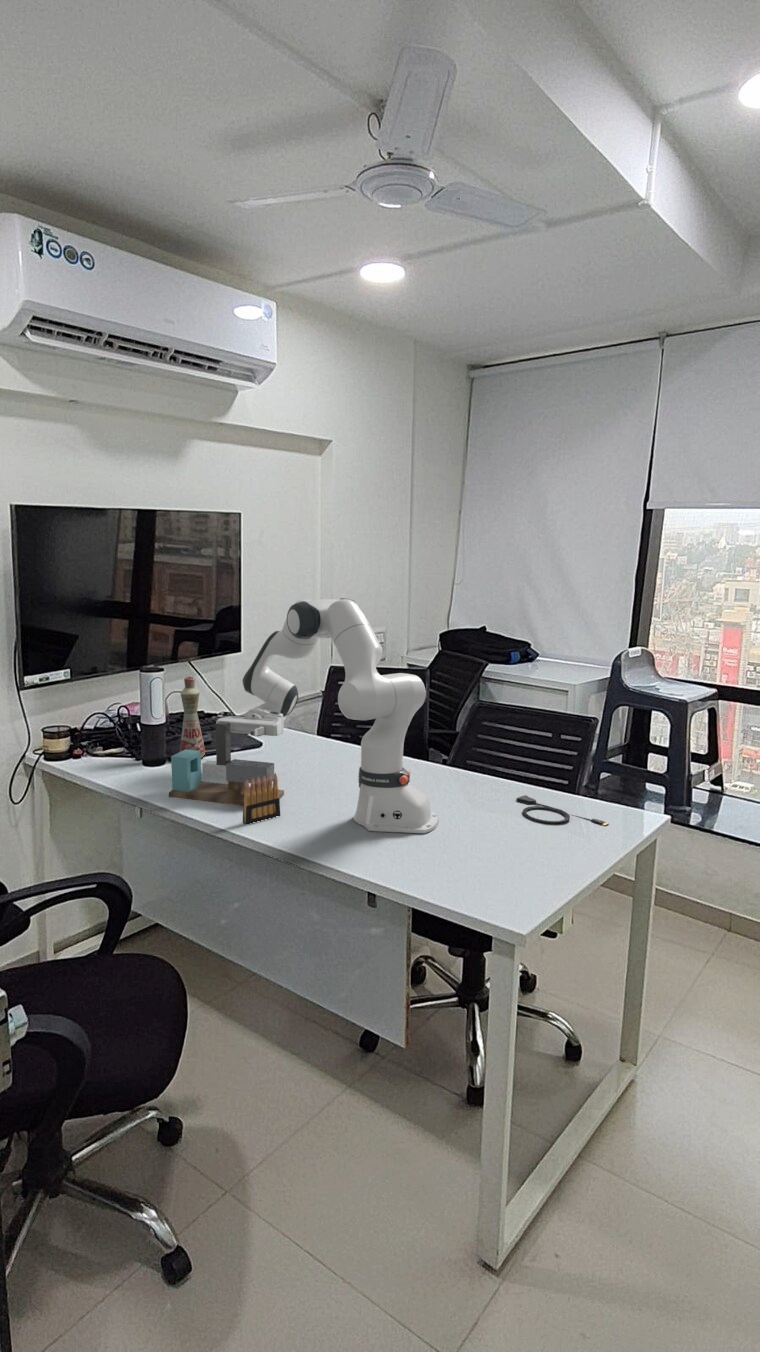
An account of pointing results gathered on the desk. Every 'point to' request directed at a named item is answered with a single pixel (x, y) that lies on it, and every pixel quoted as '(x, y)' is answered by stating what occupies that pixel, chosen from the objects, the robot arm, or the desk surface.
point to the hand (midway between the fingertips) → (238, 731)
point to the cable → (529, 800)
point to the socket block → (186, 770)
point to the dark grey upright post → (220, 751)
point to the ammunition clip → (261, 800)
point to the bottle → (191, 718)
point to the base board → (216, 793)
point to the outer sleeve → (248, 771)
